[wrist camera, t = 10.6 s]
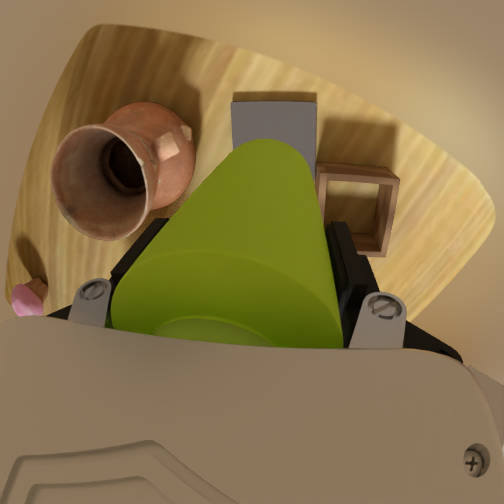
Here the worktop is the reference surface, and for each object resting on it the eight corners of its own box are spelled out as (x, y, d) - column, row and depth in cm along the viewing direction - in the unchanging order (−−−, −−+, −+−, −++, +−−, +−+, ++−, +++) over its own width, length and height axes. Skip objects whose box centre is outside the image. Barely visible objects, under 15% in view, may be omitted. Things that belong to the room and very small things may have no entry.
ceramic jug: (184, 77, 31) (129, 75, 19) (227, 176, 37) (197, 224, 25) (83, 137, 36) (17, 166, 24) (123, 218, 42) (73, 269, 30)
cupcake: (26, 280, 54) (3, 306, 46) (33, 262, 50) (7, 289, 42) (51, 305, 57) (29, 333, 49) (60, 290, 53) (36, 319, 45)
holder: (376, 238, 39) (385, 257, 35) (311, 236, 40) (313, 255, 36) (387, 167, 34) (400, 179, 30) (315, 162, 35) (319, 172, 31)
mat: (313, 179, 36) (314, 181, 35) (235, 177, 37) (234, 180, 36) (315, 102, 31) (316, 102, 30) (232, 101, 32) (230, 102, 31)
